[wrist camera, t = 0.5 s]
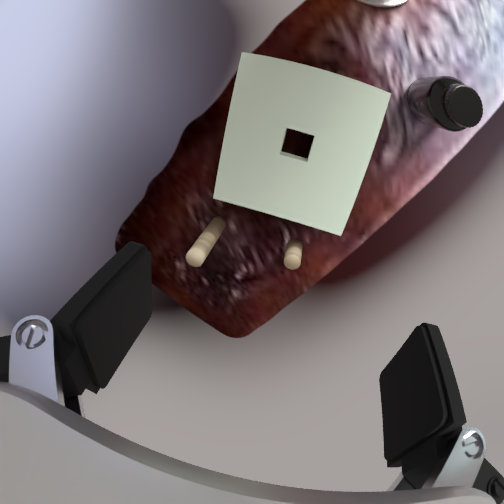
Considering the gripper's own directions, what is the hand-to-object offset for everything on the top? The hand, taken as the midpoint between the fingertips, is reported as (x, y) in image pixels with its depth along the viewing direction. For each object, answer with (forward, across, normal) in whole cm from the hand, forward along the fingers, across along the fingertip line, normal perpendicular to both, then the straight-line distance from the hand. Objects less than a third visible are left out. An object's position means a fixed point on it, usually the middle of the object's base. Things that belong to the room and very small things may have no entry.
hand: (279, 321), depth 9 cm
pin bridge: (+34, +1, -1) cm, 34 cm away
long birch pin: (+35, +11, +16) cm, 40 cm away
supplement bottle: (+34, -15, -13) cm, 39 cm away
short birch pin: (+35, -2, +16) cm, 38 cm away
